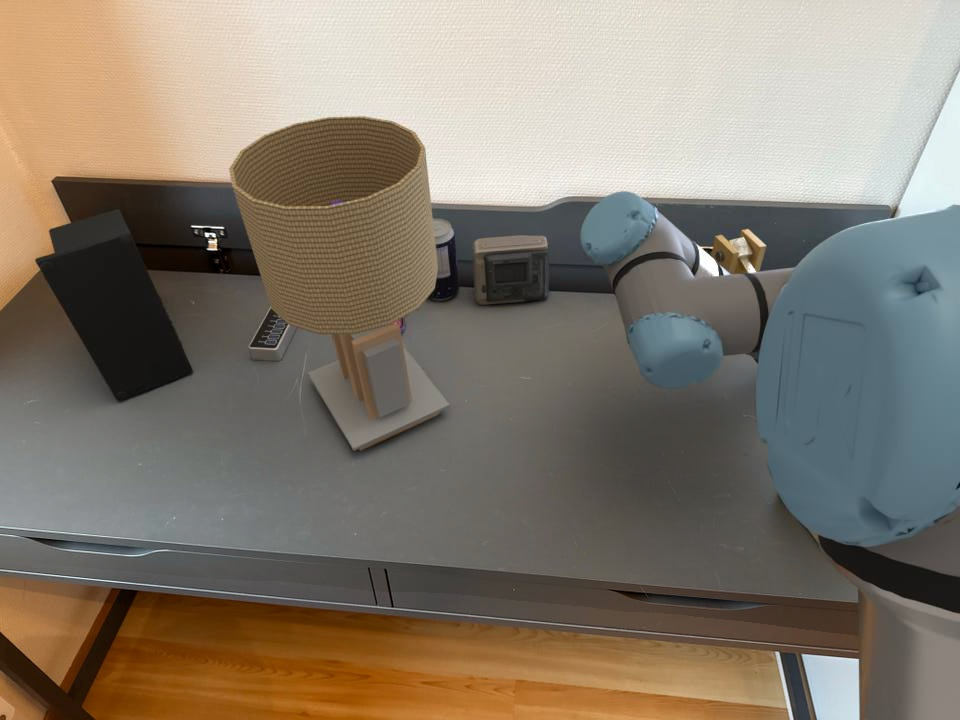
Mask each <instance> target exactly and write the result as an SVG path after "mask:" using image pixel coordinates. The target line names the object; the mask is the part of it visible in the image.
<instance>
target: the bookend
mask: <svg viewBox="0 0 960 720" xmlns="http://www.w3.org/2000/svg"><path fill="white" fill-rule="evenodd" d="M48 233H49V237H50V240H51V241H50V242H51V244H52V248H53V253H50V254H47V255H43V256H38V257H37V258H35V259H34V261H35V264H36V265H37V267H38V268H39V271H41V273H42V276H43V278H44V279H45V281H46V282H47V284H48V286H49V289H50V290H51V291H52V293H53V294H54V297H56V299H57V301H58V304H59V305H60V306H61V308H62V310H63V311H64V313H65V315H66V317H67V318H68V320H69V322H70V323H71V325H72V326H73V329H74V330H75V332H76V333H77V335H78V337H79V339H80V340H81V342H82V344H83V345H84V347H85V349H86V351H87V352H88V354H89V356H90V358H91V359H92V361H93V363H94V364H95V366H96V367H97V369H98V371H99V373H100V375H101V376H102V379H104V382H105V383H106V385H107V387H108V388H109V390H110V392H111V393H112V395H113V397H114V399H115V400H116V402H120V401H123V400H126V399H128V398H130V397H133V396H136V395H138V394H140V393H143V392H146V391H148V390H151V389H154V388H155V387H158V386H161V385H163V384H165V383H169V382H172V381H173V380H176V379H178V378H181V377H183V376H186V375H189V374H190V373H193V372H194V370H193V368H192V365H191V363H190V361H189V358H188V357H187V355H186V352H185V348H184V346H183V342H182V341H181V339H180V338H179V334H178V332H177V331H176V327H174V324H173V321H172V320H171V318H170V316H169V314H168V312H167V310H166V307H165V306H164V303H163V301H162V298H161V297H160V295H159V293H158V290H157V288H156V286H155V284H154V281H153V280H152V278H151V276H150V274H149V271H148V269H147V266H146V264H145V263H144V260H143V258H142V256H141V253H140V251H139V249H138V247H137V245H136V242H135V240H134V238H133V236H132V233H131V231H130V229H129V227H128V225H127V223H126V220H125V219H124V217H123V214H122V212H121V210H120V209H118V208H117V209H113V210H110V211H106V212H103V213H101V214H96V215H94V216H90V217H86V218H83V219H80V220H76V221H73V222H69V223H66V224H62V225H59V226H55V227H53V228H50V229H49V230H48Z"/></svg>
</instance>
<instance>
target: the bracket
mask: <svg viewBox="0 0 960 720" xmlns="http://www.w3.org/2000/svg"><path fill="white" fill-rule="evenodd" d="M742 237H744V239H745V240H746V242H747V244H748V245H749V247H750V249H751V251H752V252H753V254H752V256H751V257H750V259H749V261H750V263H751V264H752V266H753V268H754V269H755V271H756V272H761V267H762V263H763V259H764V257H765V256H764V255H765V252H766V250H767V245H766V244H765V242H763V241H762V240H761V239H760V238H759V237H758V236H757V235H755V234H754V233H753V232H752V231H751V230H750V229H748V228H745V229H741V232H740V235H739V238H742ZM710 256H711V257H712V258H713V259H714V260H715V261H716V262H717V263H718V264H719V265H721V266H722V267H723V268H724V269H725V270H726V271H728V272H729V273H730V274H731V275H732V274H740V273H743V272H742V270H741V268H740V266H739V265H738V266H736V264H737V260H738V256H739V251H738V250H737V249H736V248H735V247H734V246H733V245H732V244H731V243H730V242H729V240H728V239H726V237H725V236H723V234H719V235H718V234H717V235H715V236H714V241H713V246H712V249H711V255H710Z"/></svg>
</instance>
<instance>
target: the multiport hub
mask: <svg viewBox="0 0 960 720" xmlns="http://www.w3.org/2000/svg"><path fill="white" fill-rule="evenodd" d="M297 329H298V328H297V327H294V326H291V325H289V324H288V323H286V322H285V321H284V320H283V319H282V318H281V317H280V316H279V315H277V314H276V313H275V312H274V311H273V310H272V309H271V306H270V307H269V308H268V310H267V312H266V314H265V315H264V318H263V319H262V321H261V323H260V325H259V327H258V328H257V330H256V332H255V334H254V335H253V337H252V339H251V341H250V342H249V344H248V350H249V353H250V355H251V358H252V360H253V361H267V362H280V361H282V360H283V358H284V356H285V354H286V351H287V349H288V348H289V346H290V343H291V342H292V339H293V337H294V335H295V334H296V331H297Z"/></svg>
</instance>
